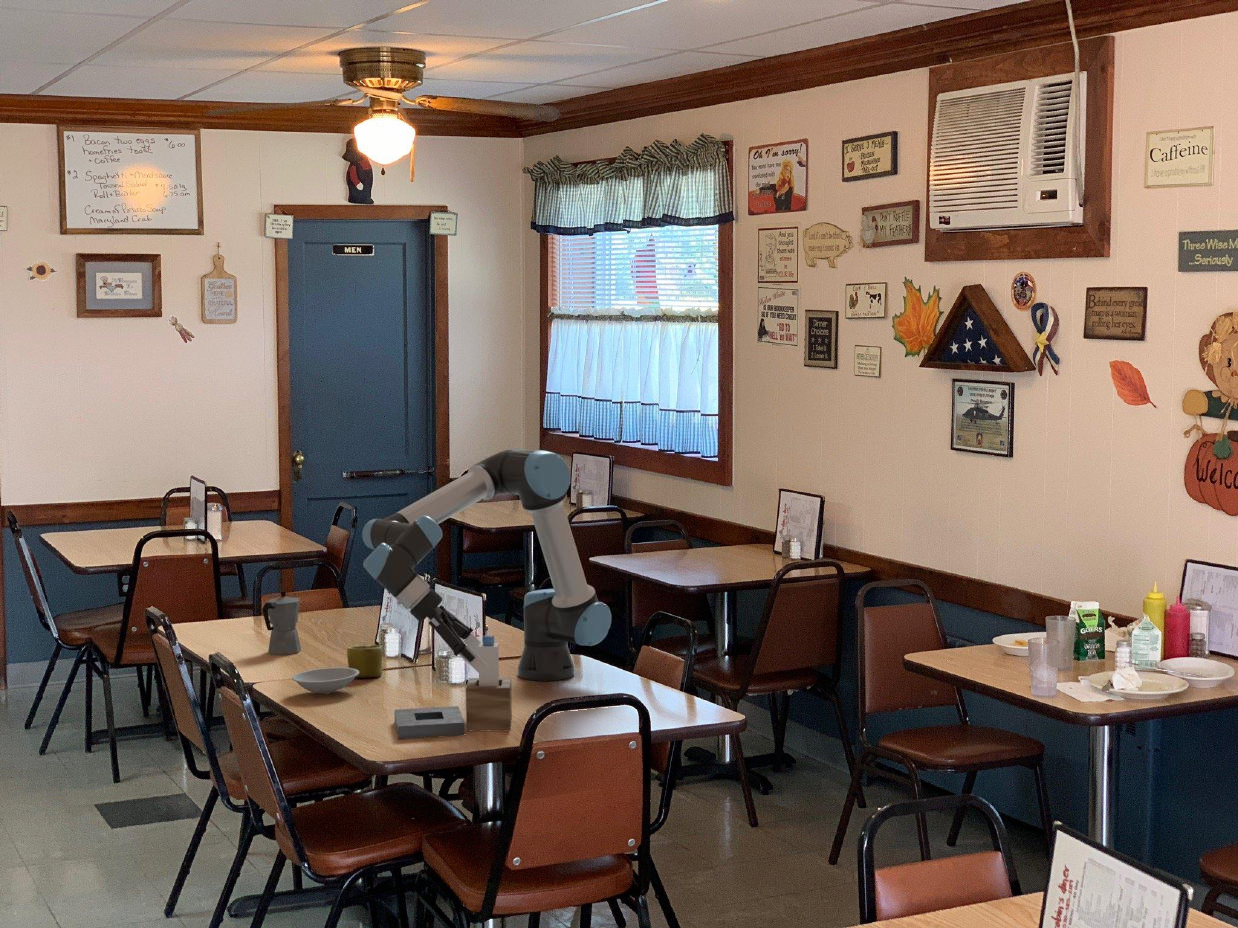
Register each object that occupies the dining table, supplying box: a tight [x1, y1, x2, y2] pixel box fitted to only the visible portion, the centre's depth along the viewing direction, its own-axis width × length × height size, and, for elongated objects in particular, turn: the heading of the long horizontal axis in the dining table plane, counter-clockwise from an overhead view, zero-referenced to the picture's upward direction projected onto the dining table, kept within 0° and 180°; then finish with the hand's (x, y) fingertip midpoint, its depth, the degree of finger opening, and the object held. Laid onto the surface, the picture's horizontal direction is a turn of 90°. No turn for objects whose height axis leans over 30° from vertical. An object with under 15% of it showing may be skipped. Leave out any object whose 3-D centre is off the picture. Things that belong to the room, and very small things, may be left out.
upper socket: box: [465, 677, 513, 732], centre depth 331 cm, size 10×10×10 cm
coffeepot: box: [261, 590, 302, 656], centre depth 409 cm, size 15×9×18 cm, turn 153°
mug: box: [346, 644, 384, 679], centre depth 382 cm, size 12×10×10 cm
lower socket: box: [394, 705, 466, 740], centre depth 329 cm, size 15×15×3 cm
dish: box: [291, 667, 359, 695], centre depth 362 cm, size 18×14×5 cm
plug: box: [478, 634, 500, 686], centre depth 330 cm, size 4×4×14 cm
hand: (485, 662), depth 330 cm, fingers open, 13 cm apart
